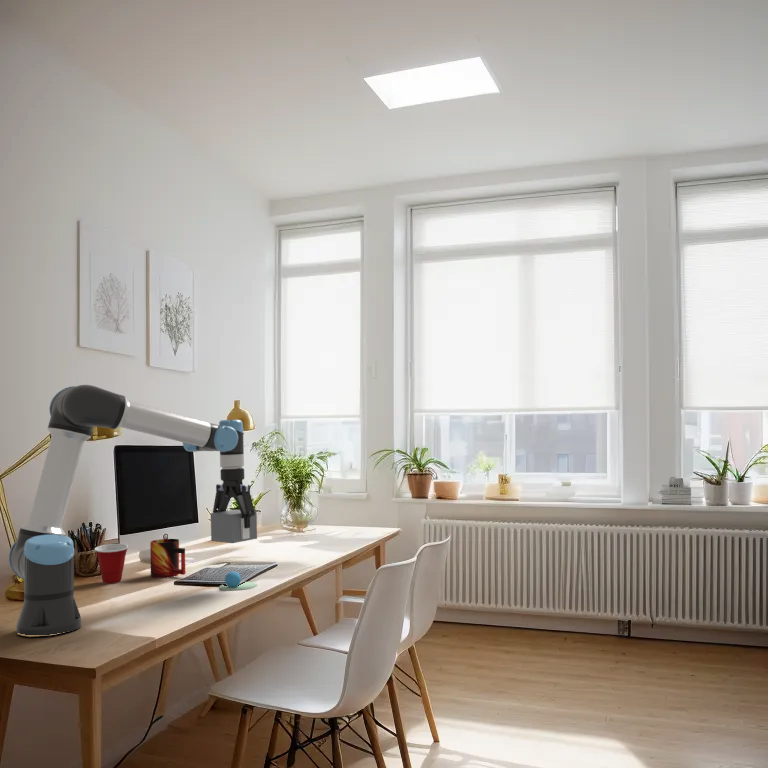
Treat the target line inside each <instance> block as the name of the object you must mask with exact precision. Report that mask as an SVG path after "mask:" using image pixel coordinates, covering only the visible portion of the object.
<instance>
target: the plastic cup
mask: <svg viewBox="0 0 768 768" xmlns="http://www.w3.org/2000/svg"><path fill="white" fill-rule="evenodd" d="M128 548H129V544H125V543H107V544H102V545H98V546H96V547H95V548H94V550H95V552H96V555H97V556H96V557H97V559H98V565H99V570H100V574H101V580H102V583H103V584H109V583H110V584H117V583H120V582H121V581H122V577H123V571H124V566H125V561H126V555H127V551H128Z"/></svg>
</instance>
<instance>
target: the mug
mask: <svg viewBox="0 0 768 768" xmlns="http://www.w3.org/2000/svg"><path fill="white" fill-rule="evenodd" d="M149 546H150V547H149V548H150V577H151V578H154V579H168V578H167V577H169V578H174V576H175V577H178V576H179V575H186V548H185V547H184V548H181V547H180V539H178V538H160V539H155V540H154V539H153V540H150V543H149ZM180 562H181V563H180ZM180 567H181V568H180Z"/></svg>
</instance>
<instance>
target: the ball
mask: <svg viewBox="0 0 768 768" xmlns="http://www.w3.org/2000/svg"><path fill="white" fill-rule="evenodd" d="M224 582H225V583H224V584H226V585H227V586H228V587H231V588H234V587H237V586H238V585H239V584H240V582H242V577H241V575H240V573H239V572H237V571H229V572H227V574H226V575H225V577H224Z"/></svg>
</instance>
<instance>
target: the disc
mask: <svg viewBox="0 0 768 768" xmlns="http://www.w3.org/2000/svg"><path fill="white" fill-rule="evenodd" d="M244 582H245V583H243V584H241V585H239V586H237V587H234V588H231V587H228V586H224V585H223V584H221V585H219V586H218V589H220V590H223V591H243V590H249V589H254V588H257V586H258V583H256V582H252V581H244Z"/></svg>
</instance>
